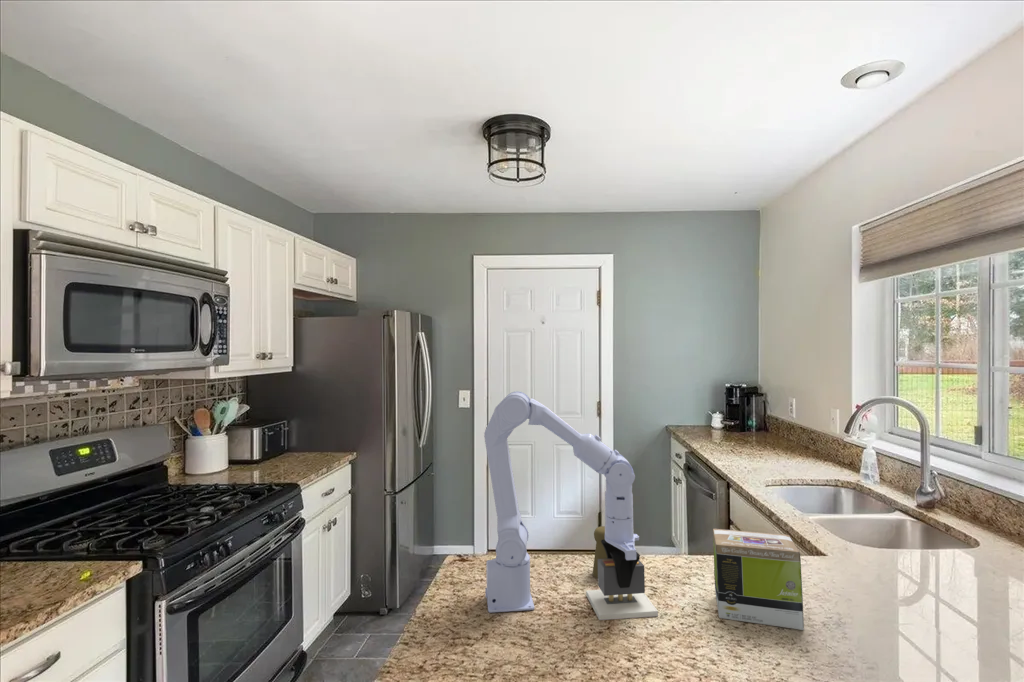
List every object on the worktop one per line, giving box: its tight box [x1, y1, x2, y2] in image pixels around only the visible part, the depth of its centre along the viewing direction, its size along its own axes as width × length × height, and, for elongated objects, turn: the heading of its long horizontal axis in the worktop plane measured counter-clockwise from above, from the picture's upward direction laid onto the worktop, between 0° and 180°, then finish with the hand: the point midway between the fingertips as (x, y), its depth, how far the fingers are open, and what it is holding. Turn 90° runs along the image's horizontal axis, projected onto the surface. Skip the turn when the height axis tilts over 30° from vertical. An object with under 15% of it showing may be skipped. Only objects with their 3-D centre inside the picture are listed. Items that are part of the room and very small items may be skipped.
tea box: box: [712, 528, 805, 631], centre depth 98 cm, size 15×10×15 cm, turn 71°
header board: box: [585, 589, 659, 621], centre depth 101 cm, size 12×10×4 cm
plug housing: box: [597, 558, 646, 596], centre depth 102 cm, size 8×4×6 cm, turn 96°
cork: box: [592, 525, 607, 580], centre depth 116 cm, size 6×6×11 cm
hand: (620, 581), depth 101 cm, fingers closed on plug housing, 4 cm apart
